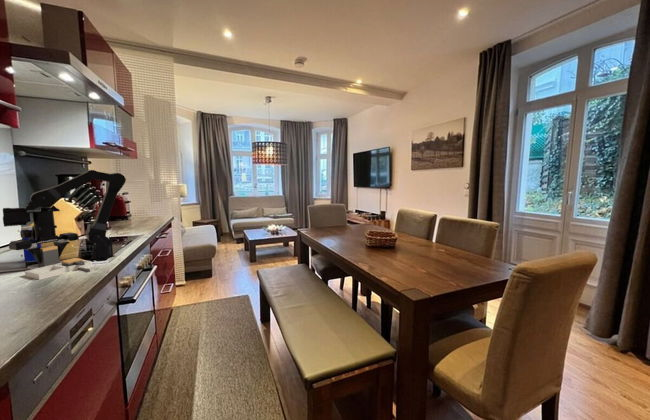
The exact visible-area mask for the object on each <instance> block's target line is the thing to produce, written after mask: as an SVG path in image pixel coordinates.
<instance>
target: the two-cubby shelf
mask: <svg viewBox="0 0 650 420" xmlns="http://www.w3.org/2000/svg"><path fill="white" fill-rule="evenodd" d="M82 262H83V263H85V265H82V266H81V265H73V266H69V267H66V266H62V263H58V264H54V265H49V266H45V267H41V268H36V269H28V270H25V271H24V275H25V277H27V278H31V279H36V280H43V279H47V278H51V277H54V276H59V275H62V274H67V273H70V272H74V271H79V270H78V268H80V267H83V268H89V267H90V268H91V267H92V266H93V262H92V261H91V260H85V259H82Z"/></svg>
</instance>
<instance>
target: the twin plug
mask: <svg viewBox="0 0 650 420" xmlns="http://www.w3.org/2000/svg"><path fill="white" fill-rule="evenodd" d="M82 260H83V259H82V258H78V257H74V258H67V259H64V260H60V261H61V262H62V266H66V267H69V266H73V265H81V266H82V265H85V263H83V262H82ZM77 271H83V272H86V273H89V272H90V271H91V269H90V268H88V267H86V268H83V267H80V268H78V270H77Z"/></svg>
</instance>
